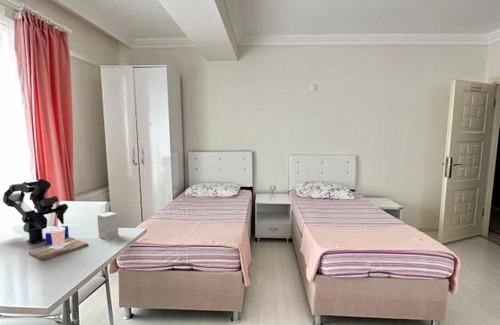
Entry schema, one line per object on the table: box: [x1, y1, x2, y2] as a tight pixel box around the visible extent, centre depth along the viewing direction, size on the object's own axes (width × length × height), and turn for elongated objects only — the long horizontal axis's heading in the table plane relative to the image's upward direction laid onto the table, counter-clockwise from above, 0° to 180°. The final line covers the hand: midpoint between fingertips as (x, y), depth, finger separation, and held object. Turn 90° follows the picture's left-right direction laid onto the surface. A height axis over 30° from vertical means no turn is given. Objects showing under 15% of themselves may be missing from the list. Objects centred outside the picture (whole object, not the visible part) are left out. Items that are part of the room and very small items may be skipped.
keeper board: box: [28, 237, 89, 262], centre depth 139 cm, size 14×20×2 cm
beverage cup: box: [49, 218, 66, 249], centre depth 139 cm, size 6×6×14 cm
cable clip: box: [44, 225, 70, 246], centre depth 152 cm, size 12×4×6 cm, turn 174°
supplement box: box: [97, 211, 119, 241], centre depth 157 cm, size 7×7×13 cm
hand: (53, 226), depth 141 cm, fingers open, 9 cm apart
